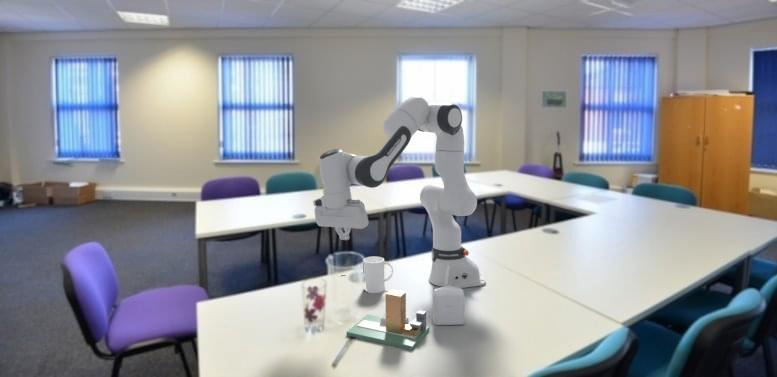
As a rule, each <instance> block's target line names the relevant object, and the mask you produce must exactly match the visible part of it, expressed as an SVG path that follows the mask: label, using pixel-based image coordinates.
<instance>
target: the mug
mask: <svg viewBox="0 0 777 377" xmlns="http://www.w3.org/2000/svg"><path fill="white" fill-rule="evenodd" d="M362 263H363V273H364V275H363V278H364V277H365V279H366V289H367V292H368V294H379V293H383V292H384V291H385V290H386V284H385V282H387V281H389V280H390V279H391V278H392V276H393V272H394V268H393V266H392V264H391V263H390V262H388V261H385V258H384V257H381V256H377V255H376V256H373V255H372V256H367V257H365V258H363V260H362ZM385 265H388V266H389V267H390V269H391V273H390V275H389V276H388V277H387V278H385ZM363 273H362V274H363ZM367 292H366V293H367Z"/></svg>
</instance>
